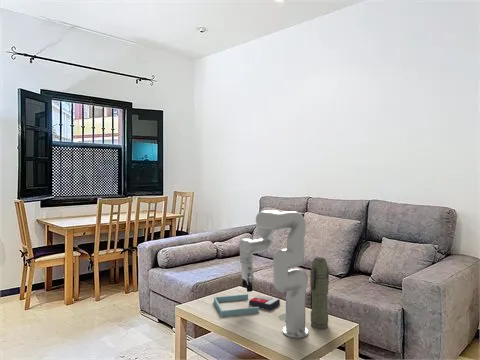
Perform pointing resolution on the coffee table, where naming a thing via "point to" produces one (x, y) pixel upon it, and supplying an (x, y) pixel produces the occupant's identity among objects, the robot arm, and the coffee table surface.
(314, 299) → the thermos
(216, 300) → the teal u-shaped piece
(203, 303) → the coffee table surface
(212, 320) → the coffee table surface
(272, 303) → the calculator
